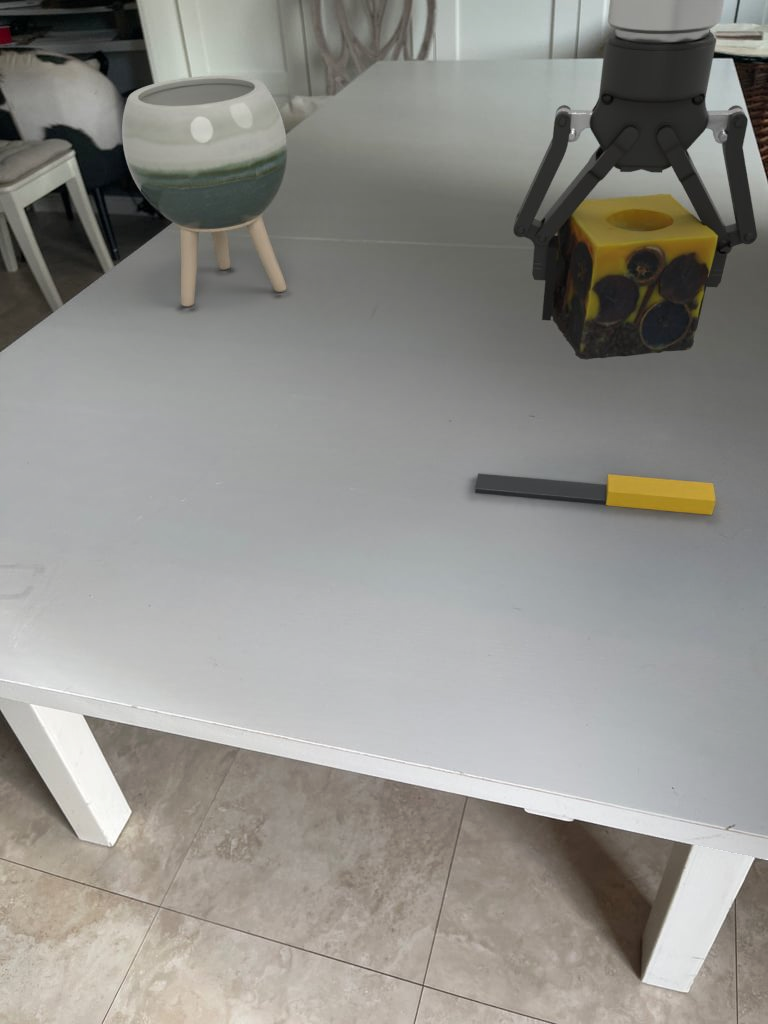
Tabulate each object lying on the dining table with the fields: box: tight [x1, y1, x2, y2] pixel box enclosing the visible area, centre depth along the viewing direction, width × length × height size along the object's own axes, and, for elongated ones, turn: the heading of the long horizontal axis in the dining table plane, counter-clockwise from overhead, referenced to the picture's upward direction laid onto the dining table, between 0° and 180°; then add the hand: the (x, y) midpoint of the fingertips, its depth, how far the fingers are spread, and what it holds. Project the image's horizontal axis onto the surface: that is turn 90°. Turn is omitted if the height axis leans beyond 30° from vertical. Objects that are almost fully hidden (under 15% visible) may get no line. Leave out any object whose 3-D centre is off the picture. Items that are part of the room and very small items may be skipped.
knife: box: [474, 473, 717, 516], centre depth 81 cm, size 23×3×2 cm, turn 78°
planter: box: [121, 75, 288, 308], centre depth 116 cm, size 22×22×28 cm
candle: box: [551, 193, 718, 360], centre depth 68 cm, size 10×10×10 cm
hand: (617, 317), depth 70 cm, fingers closed on candle, 11 cm apart
